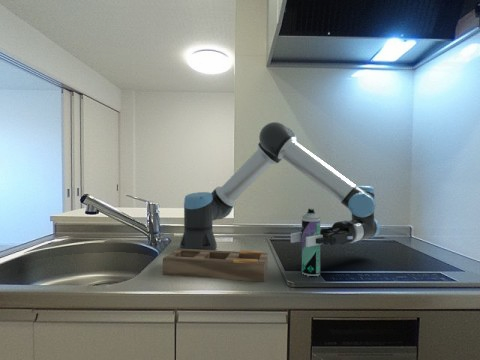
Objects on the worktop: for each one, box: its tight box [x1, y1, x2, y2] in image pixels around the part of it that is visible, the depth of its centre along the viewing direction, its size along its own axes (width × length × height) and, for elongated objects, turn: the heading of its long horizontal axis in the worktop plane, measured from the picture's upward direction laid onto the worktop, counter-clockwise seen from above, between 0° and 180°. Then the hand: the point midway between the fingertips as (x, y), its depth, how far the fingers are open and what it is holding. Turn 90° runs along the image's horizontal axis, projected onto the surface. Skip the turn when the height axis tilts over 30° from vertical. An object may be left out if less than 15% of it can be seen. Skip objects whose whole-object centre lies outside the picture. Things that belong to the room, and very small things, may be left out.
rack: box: [162, 248, 269, 283], centre depth 87 cm, size 12×31×6 cm, turn 79°
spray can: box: [301, 208, 321, 277], centre depth 84 cm, size 6×6×20 cm
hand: (299, 240), depth 81 cm, fingers closed on spray can, 5 cm apart
